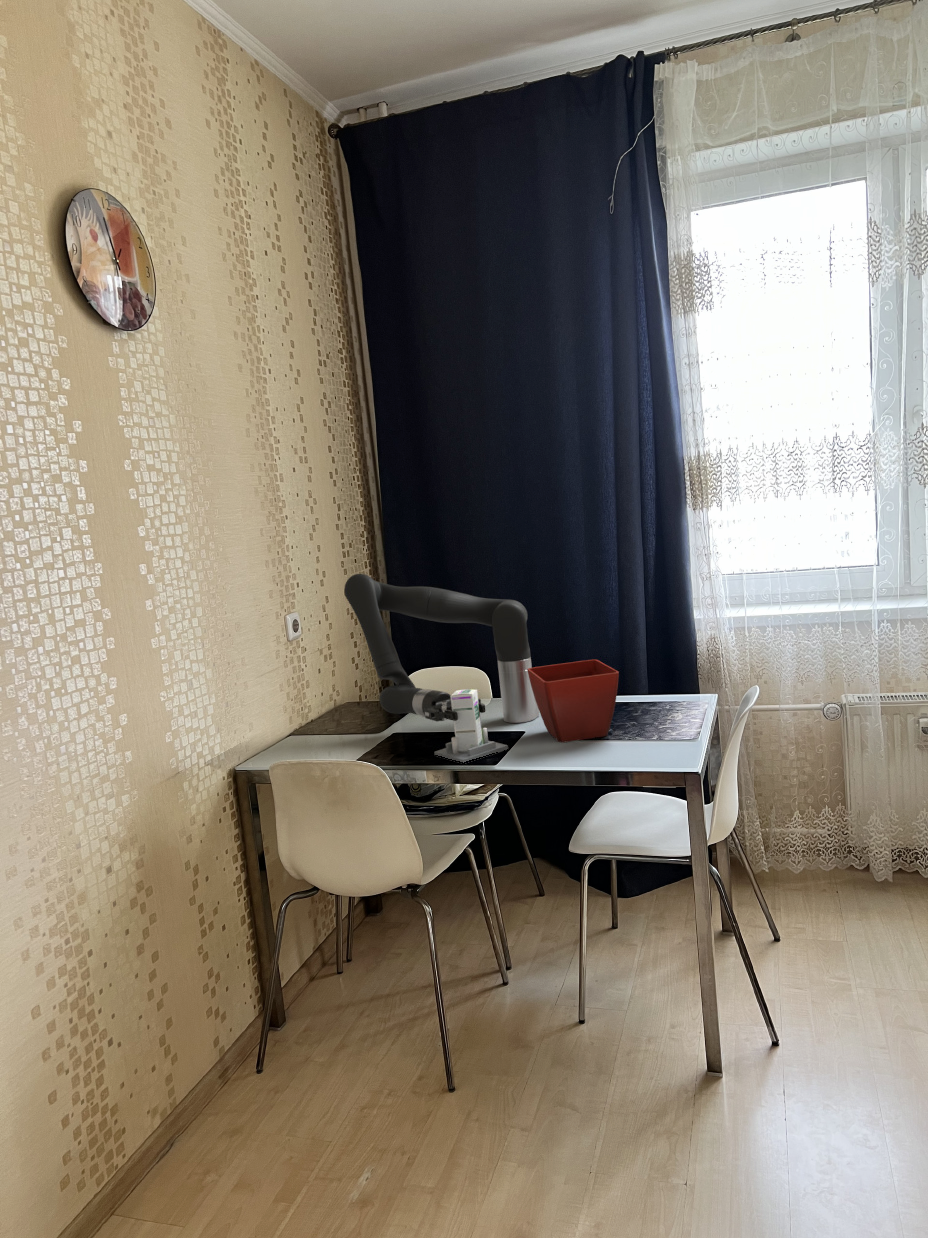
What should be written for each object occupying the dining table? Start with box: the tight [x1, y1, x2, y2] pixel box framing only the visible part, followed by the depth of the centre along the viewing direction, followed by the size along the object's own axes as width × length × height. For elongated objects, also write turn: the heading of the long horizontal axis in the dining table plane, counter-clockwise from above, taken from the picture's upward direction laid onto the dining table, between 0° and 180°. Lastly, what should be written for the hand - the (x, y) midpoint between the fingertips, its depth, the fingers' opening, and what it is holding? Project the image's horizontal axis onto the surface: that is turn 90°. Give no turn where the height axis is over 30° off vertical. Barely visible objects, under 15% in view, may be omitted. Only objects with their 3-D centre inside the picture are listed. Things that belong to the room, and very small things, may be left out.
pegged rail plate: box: [434, 727, 509, 763], centre depth 226 cm, size 14×12×5 cm
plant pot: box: [527, 659, 620, 743], centre depth 231 cm, size 19×19×17 cm
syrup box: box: [450, 688, 484, 752], centre depth 225 cm, size 6×6×14 cm
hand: (470, 712), depth 223 cm, fingers open, 8 cm apart
